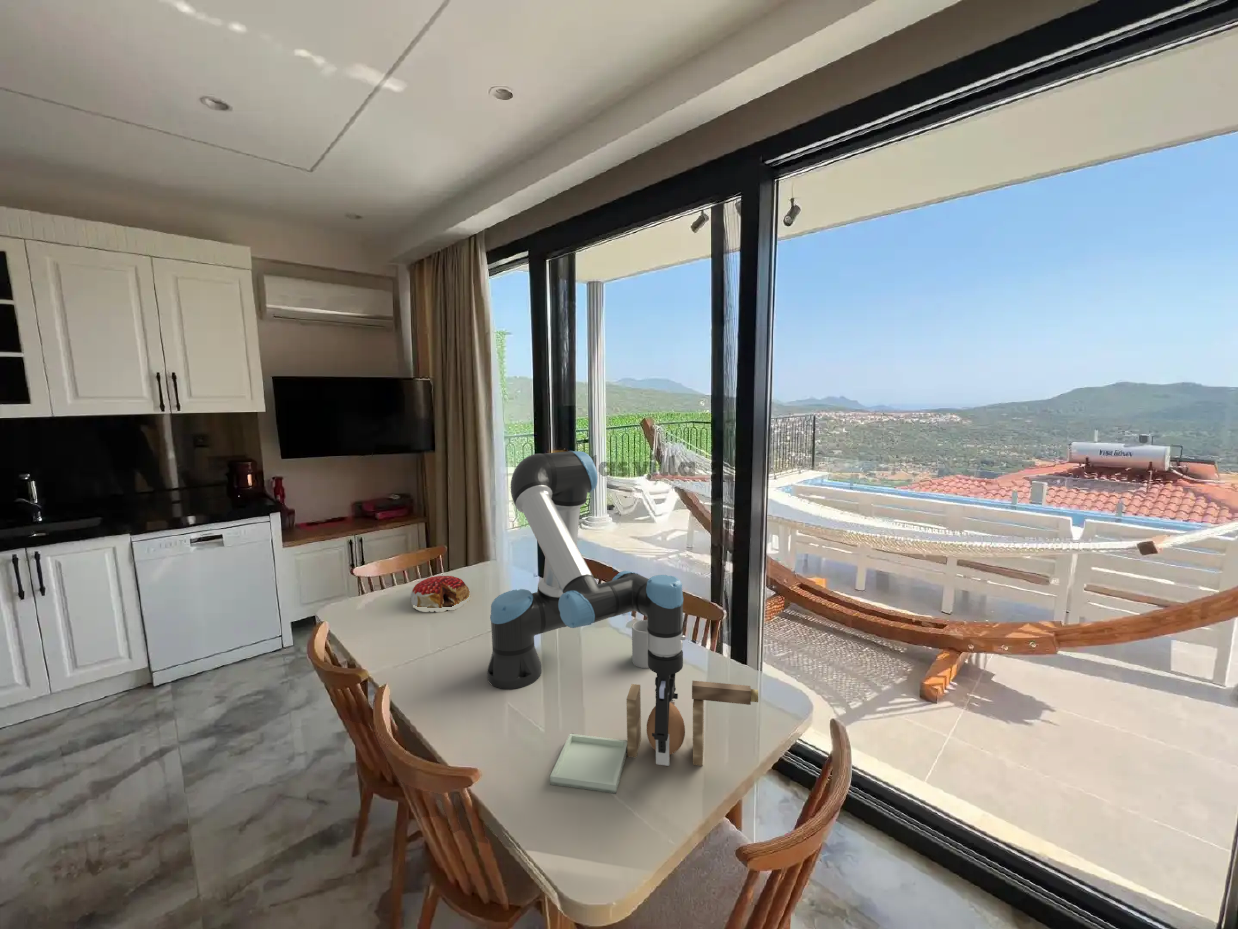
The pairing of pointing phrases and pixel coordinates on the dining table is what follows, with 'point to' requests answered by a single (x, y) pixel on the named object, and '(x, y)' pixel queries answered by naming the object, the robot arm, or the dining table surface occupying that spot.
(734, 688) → the wooden crossbeam
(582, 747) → the dish
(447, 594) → the cake
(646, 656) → the mug
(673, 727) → the egg
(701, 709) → the wooden post pair
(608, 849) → the dining table surface
